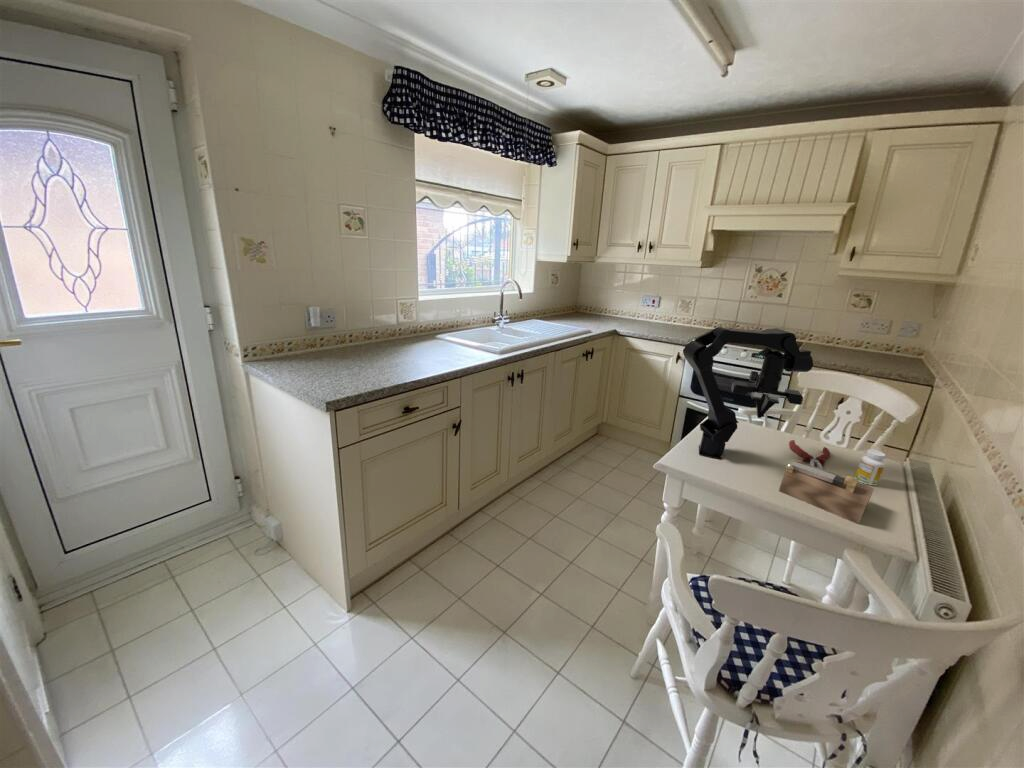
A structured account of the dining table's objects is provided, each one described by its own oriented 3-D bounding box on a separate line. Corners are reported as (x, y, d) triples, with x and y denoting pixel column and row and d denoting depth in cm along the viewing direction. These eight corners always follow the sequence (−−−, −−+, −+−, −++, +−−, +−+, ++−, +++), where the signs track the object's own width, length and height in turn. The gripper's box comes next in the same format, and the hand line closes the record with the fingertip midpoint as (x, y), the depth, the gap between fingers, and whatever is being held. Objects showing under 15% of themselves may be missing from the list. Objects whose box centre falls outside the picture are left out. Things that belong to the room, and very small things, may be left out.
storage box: (777, 490, 117) (785, 465, 114) (790, 475, 125) (797, 452, 122) (858, 524, 104) (869, 496, 102) (867, 505, 112) (877, 479, 110)
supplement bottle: (872, 478, 126) (883, 450, 123) (880, 488, 121) (892, 458, 118) (851, 474, 128) (861, 446, 124) (858, 483, 123) (869, 454, 119)
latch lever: (786, 468, 118) (787, 464, 117) (790, 463, 120) (791, 459, 120) (840, 486, 109) (842, 482, 109) (844, 481, 112) (845, 477, 111)
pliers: (794, 471, 129) (797, 463, 128) (787, 444, 146) (789, 437, 145) (839, 482, 124) (842, 474, 123) (826, 453, 141) (829, 446, 140)
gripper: (801, 368, 131) (787, 414, 136) (735, 359, 137) (724, 403, 143) (810, 379, 121) (794, 427, 126) (738, 368, 127) (727, 415, 133)
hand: (758, 417), depth 132 cm, fingers closed
